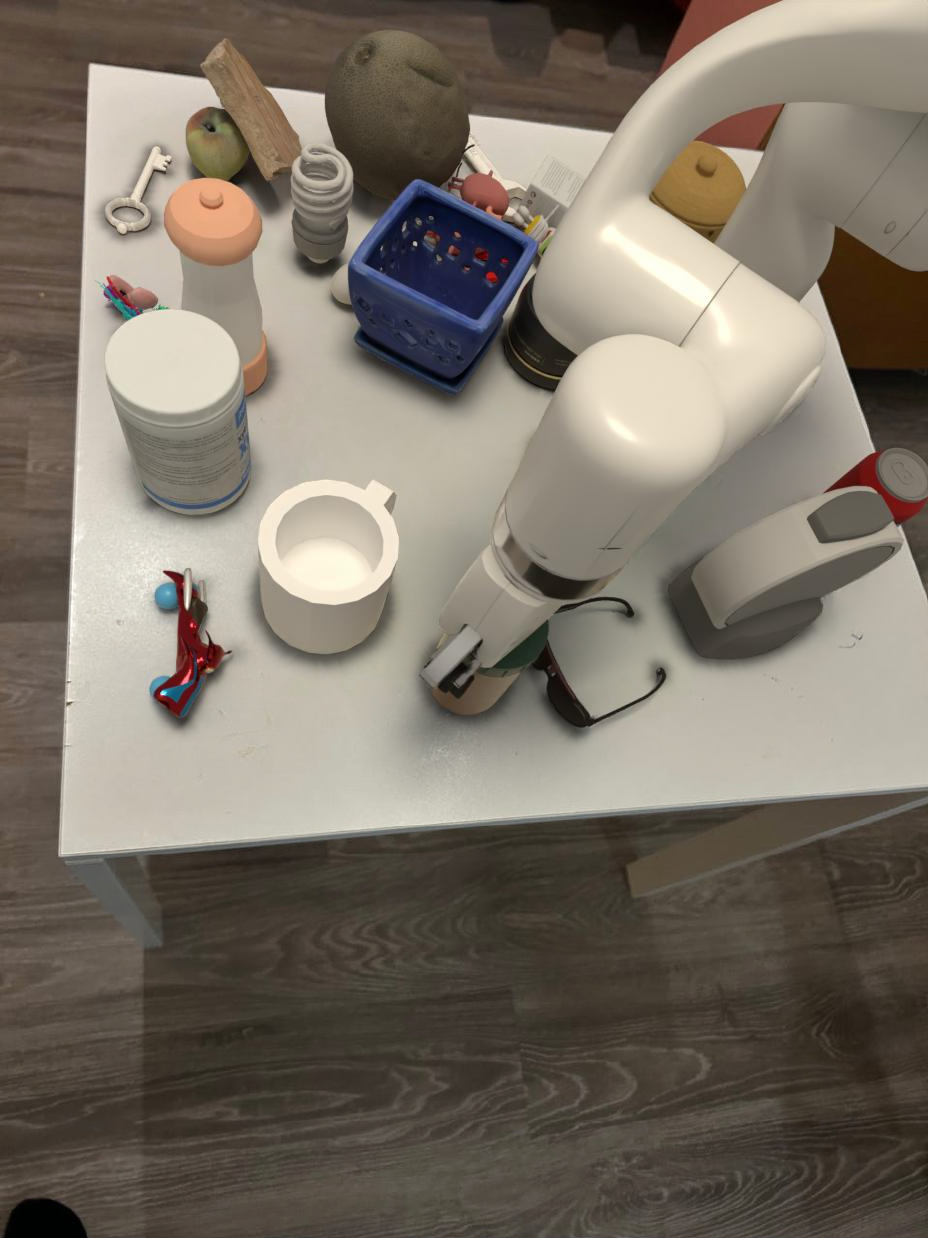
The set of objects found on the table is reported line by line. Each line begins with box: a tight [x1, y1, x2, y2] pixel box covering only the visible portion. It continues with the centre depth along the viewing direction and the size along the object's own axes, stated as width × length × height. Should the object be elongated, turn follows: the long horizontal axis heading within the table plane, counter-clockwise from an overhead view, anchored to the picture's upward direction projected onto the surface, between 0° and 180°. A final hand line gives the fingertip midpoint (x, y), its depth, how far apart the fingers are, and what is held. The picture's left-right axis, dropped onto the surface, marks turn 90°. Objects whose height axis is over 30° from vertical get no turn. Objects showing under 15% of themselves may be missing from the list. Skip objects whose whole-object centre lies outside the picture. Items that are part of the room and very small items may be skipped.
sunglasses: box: [531, 596, 667, 729], centre depth 70 cm, size 10×12×5 cm
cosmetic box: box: [515, 154, 587, 229], centre depth 88 cm, size 6×4×12 cm
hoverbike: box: [148, 567, 233, 719], centre depth 63 cm, size 5×12×6 cm
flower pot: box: [348, 179, 539, 396], centre depth 76 cm, size 13×13×12 cm
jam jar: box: [428, 631, 521, 716], centre depth 64 cm, size 7×7×12 cm
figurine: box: [425, 170, 510, 255], centre depth 86 cm, size 12×3×7 cm
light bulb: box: [290, 142, 354, 264], centre depth 77 cm, size 6×6×12 cm
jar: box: [504, 272, 578, 390], centre depth 81 cm, size 10×10×8 cm
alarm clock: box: [667, 486, 905, 660], centre depth 69 cm, size 16×10×18 cm, turn 110°
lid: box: [463, 618, 550, 678], centre depth 58 cm, size 7×7×2 cm
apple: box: [185, 106, 250, 182], centre depth 82 cm, size 6×8×6 cm
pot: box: [649, 139, 747, 244], centre depth 90 cm, size 12×12×10 cm
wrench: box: [463, 131, 528, 223], centre depth 92 cm, size 25×5×2 cm, turn 33°
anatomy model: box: [94, 274, 170, 322], centre depth 72 cm, size 5×8×7 cm, turn 60°
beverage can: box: [821, 447, 928, 528], centre depth 77 cm, size 7×7×12 cm
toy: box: [455, 144, 559, 259], centre depth 84 cm, size 7×3×15 cm
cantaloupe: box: [324, 29, 471, 201], centre depth 82 cm, size 14×14×15 cm
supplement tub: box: [103, 308, 252, 516], centre depth 65 cm, size 10×10×15 cm
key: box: [104, 145, 173, 235], centre depth 81 cm, size 12×1×4 cm
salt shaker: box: [163, 177, 269, 396], centre depth 67 cm, size 7×7×19 cm
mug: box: [257, 479, 400, 655], centre depth 65 cm, size 14×10×11 cm
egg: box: [330, 261, 382, 306], centre depth 80 cm, size 4×6×4 cm
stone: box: [199, 37, 307, 182], centre depth 81 cm, size 13×12×3 cm
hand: (490, 639), depth 60 cm, fingers open, 9 cm apart
